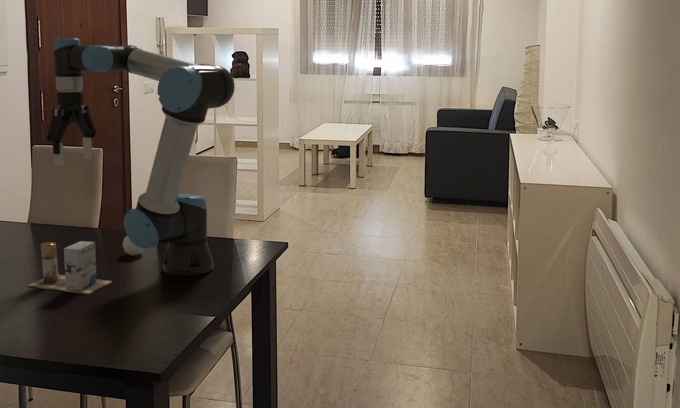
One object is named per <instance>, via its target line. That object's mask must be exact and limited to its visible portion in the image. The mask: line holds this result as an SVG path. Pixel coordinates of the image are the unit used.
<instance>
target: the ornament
mask: <svg viewBox="0 0 680 408" xmlns="http://www.w3.org/2000/svg"><path fill="white" fill-rule="evenodd" d="M122 248H123V250H124V252H125V253H127V254H128V255H129V256H139V255H140V254H141V253H143V252H144V251H145V249H144V248H139V247H137V246H136V245H134V244H133V243H132V242H131V241H130V239H129V238H128V236H125V237H124V239H123V241H122Z"/></svg>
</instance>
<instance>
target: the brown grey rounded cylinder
mask: <svg viewBox="0 0 680 408" xmlns="http://www.w3.org/2000/svg"><path fill="white" fill-rule="evenodd" d="M40 251H41V263H42V264H41V266H42V277H43V278H42V279H43V280H44V283H48V284H49V283H56V282H58V281H59V278H58V275H59V265H58V255H57V254H58V253H57V252H58V251H57V243H56V242H53V241H49V242H48V241H47V242H43V243H41V244H40Z"/></svg>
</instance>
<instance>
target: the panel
mask: <svg viewBox="0 0 680 408" xmlns="http://www.w3.org/2000/svg"><path fill="white" fill-rule="evenodd" d="M58 278H59V281H58V282H56V283H49V284H48V283H44V280H43V278H41V279H39V280H36V281H34V282H32V283H31V282H30V283H29V284H27V288H28V287H30V288H38V289H45V290H50V291H51V290H52V291H59V292H66V293H67V292H68V293H75V294H82V295H90V294H92V293H94V292H96V291H98V290H100V289H103V288H104V287H106V286H108V285H110V284H112V283H113V281H112V280H106V279H97V281H96V282H94V283H92V284H90V285H89V286H87V287H85V288H83V289H82V290H74V289H67V288H66V286H65V274H58Z"/></svg>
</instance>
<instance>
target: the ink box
mask: <svg viewBox="0 0 680 408" xmlns="http://www.w3.org/2000/svg"><path fill="white" fill-rule="evenodd" d="M63 258H64V259H63V260H64V275H65V286H66V288H67V289H74V290H82V289H83V288H85V287H87V286H89V285H90V284H92V283H94V282H96V281H97V260H96V259H97V257H96V242H95V241H85V240H83V241H82V240H80V241H78V242H75V243H73V244H70V245H68V246H67V247H64V248H63Z"/></svg>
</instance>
